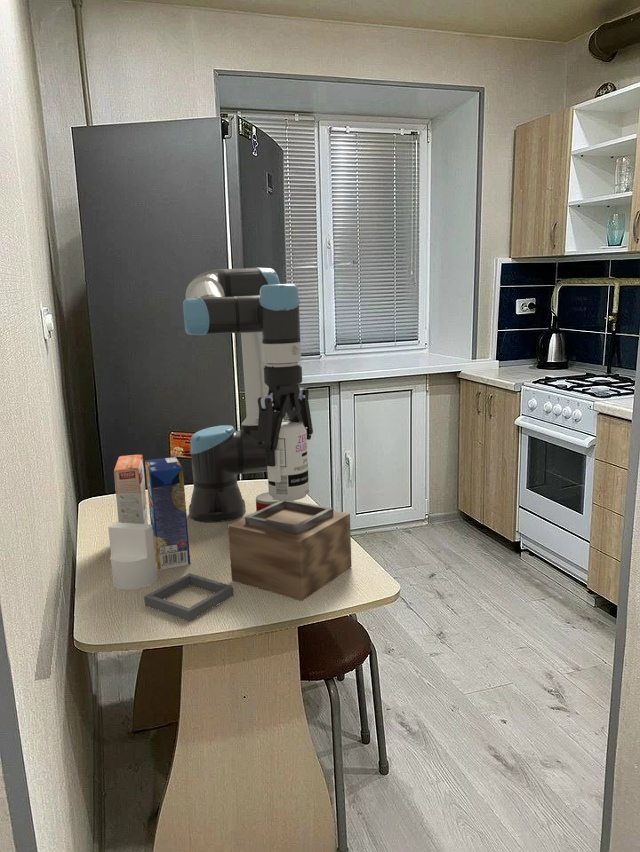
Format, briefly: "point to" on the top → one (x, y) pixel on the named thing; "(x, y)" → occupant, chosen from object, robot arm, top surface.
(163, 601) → the base frame
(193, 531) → the top surface
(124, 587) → the cylinder with rectangular tab
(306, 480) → the supplement can
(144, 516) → the cracker box
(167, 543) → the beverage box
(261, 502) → the canned food
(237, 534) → the riser block
